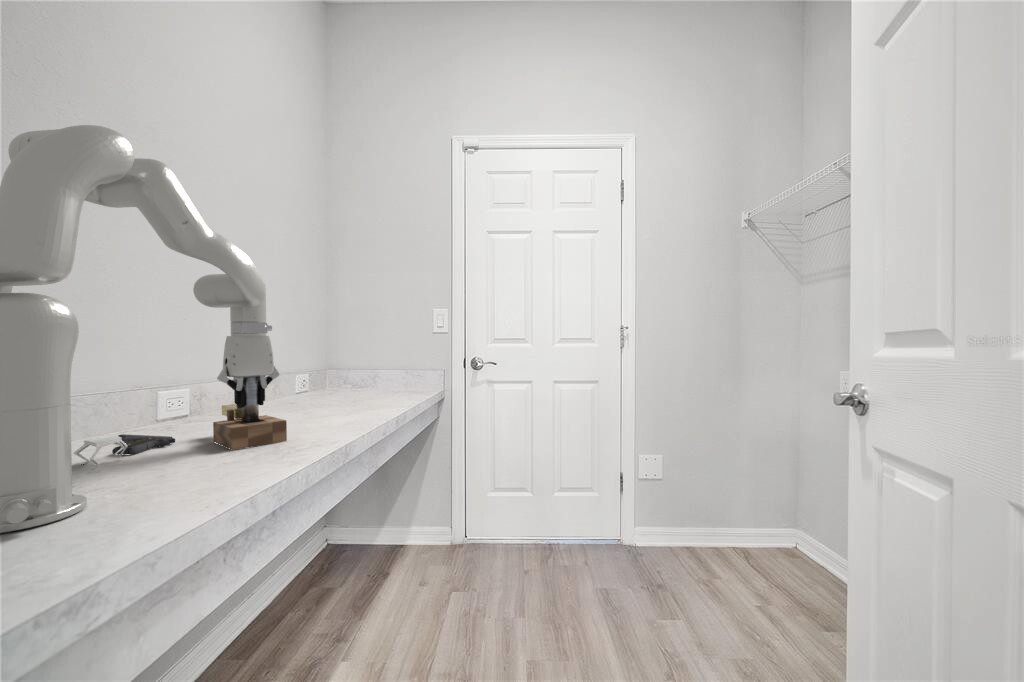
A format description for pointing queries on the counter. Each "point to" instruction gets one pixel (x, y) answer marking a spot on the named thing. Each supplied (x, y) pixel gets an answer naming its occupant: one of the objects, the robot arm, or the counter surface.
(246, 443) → the dock
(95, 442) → the white folding stand
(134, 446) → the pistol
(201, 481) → the counter surface
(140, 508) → the counter surface
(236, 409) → the bar
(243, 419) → the peg
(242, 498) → the counter surface
